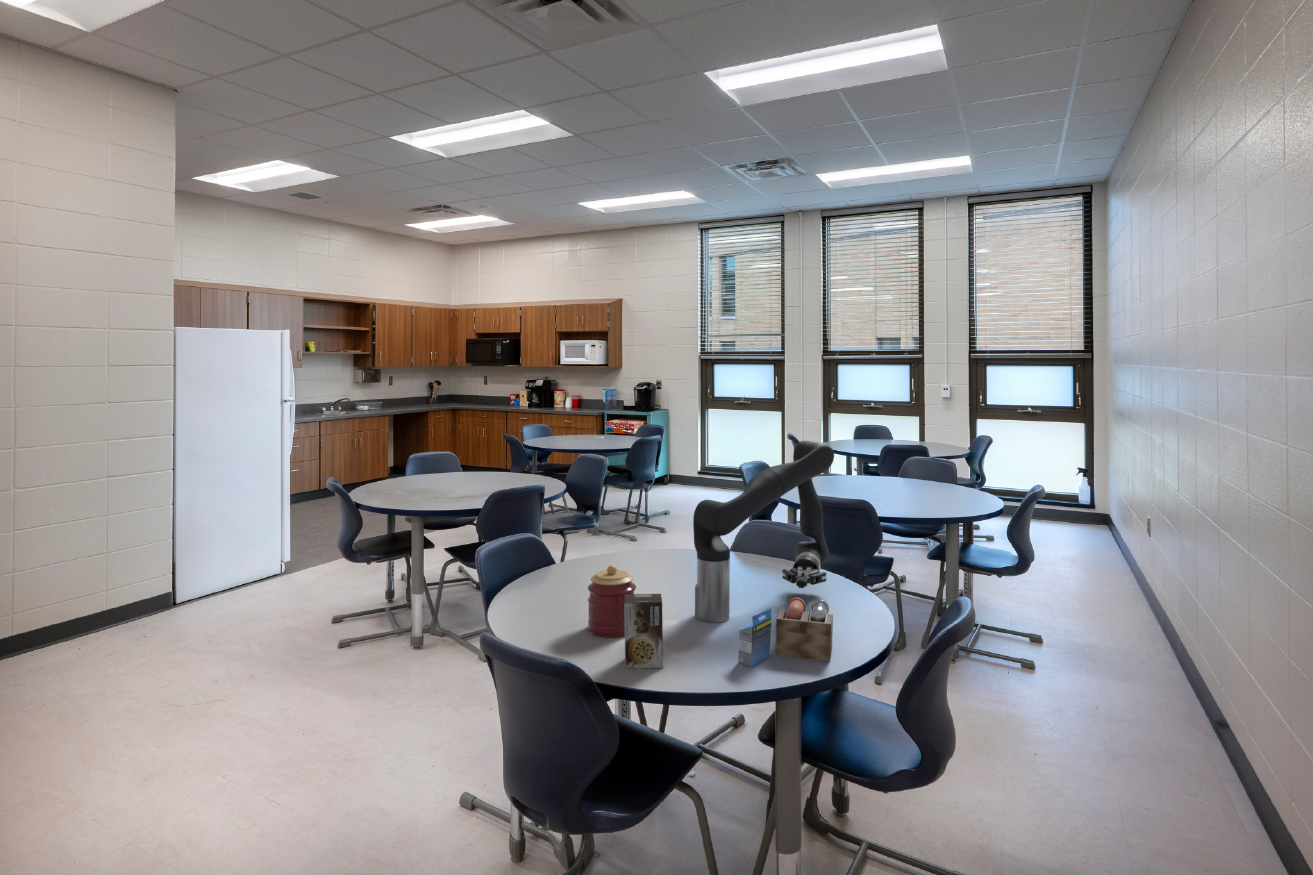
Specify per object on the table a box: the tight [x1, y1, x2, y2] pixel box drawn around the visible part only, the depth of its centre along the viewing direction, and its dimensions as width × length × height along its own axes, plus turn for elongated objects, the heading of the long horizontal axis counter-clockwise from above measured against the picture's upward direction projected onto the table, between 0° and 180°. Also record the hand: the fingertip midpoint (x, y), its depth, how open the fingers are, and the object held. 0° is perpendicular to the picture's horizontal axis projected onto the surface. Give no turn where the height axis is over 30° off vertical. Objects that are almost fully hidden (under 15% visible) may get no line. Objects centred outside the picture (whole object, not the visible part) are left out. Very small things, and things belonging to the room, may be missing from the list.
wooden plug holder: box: [775, 609, 834, 662], centre depth 178 cm, size 13×8×9 cm, turn 73°
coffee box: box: [624, 593, 664, 670], centre depth 171 cm, size 9×6×16 cm
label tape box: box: [737, 607, 772, 667], centre depth 173 cm, size 9×4×12 cm, turn 141°
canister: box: [587, 564, 637, 638], centre depth 193 cm, size 13×13×18 cm
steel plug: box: [810, 598, 830, 623], centre depth 183 cm, size 4×10×4 cm, turn 163°
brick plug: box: [786, 596, 806, 620], centre depth 184 cm, size 4×10×4 cm, turn 163°
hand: (801, 584), depth 196 cm, fingers closed
